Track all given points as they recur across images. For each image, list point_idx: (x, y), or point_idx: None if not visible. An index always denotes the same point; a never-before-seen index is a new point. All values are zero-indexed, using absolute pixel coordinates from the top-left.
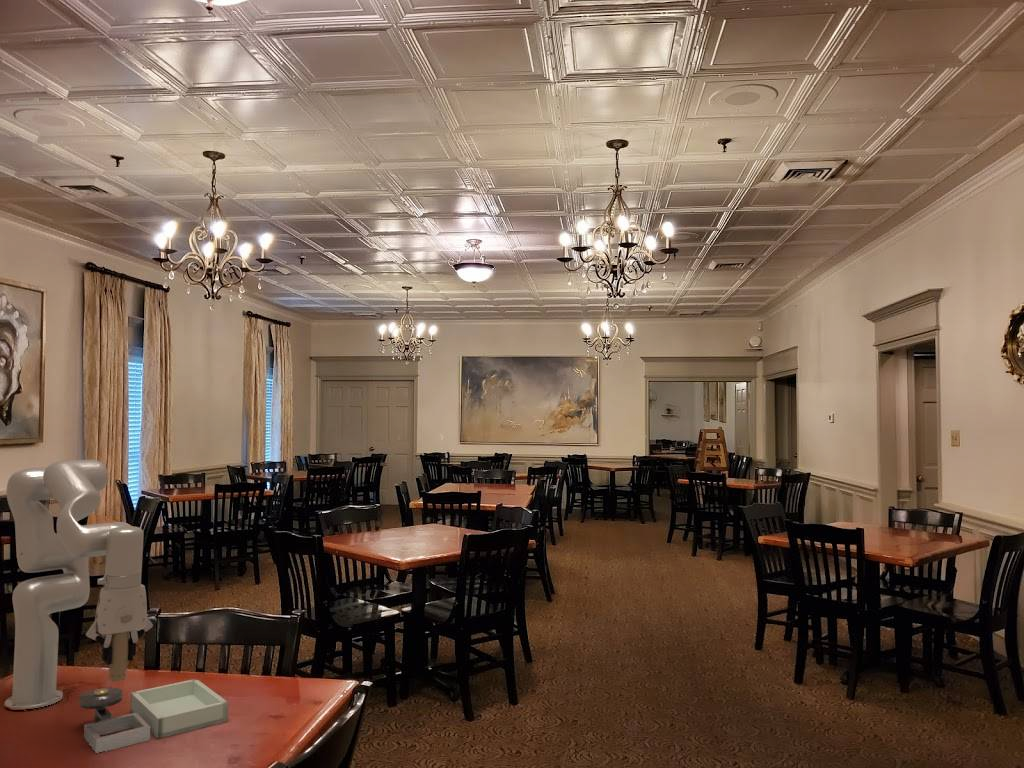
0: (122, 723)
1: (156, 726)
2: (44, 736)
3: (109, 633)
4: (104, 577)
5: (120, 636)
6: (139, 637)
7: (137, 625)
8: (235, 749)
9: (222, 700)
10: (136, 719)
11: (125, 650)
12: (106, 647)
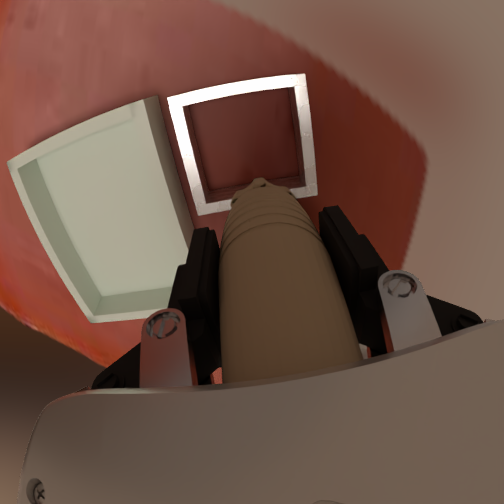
0: (230, 193)
1: (153, 109)
2: (367, 229)
3: (475, 333)
4: None
5: (310, 347)
6: (135, 350)
7: (101, 444)
8: (34, 3)
9: (16, 177)
10: (198, 173)
11: (241, 258)
12: (392, 271)
